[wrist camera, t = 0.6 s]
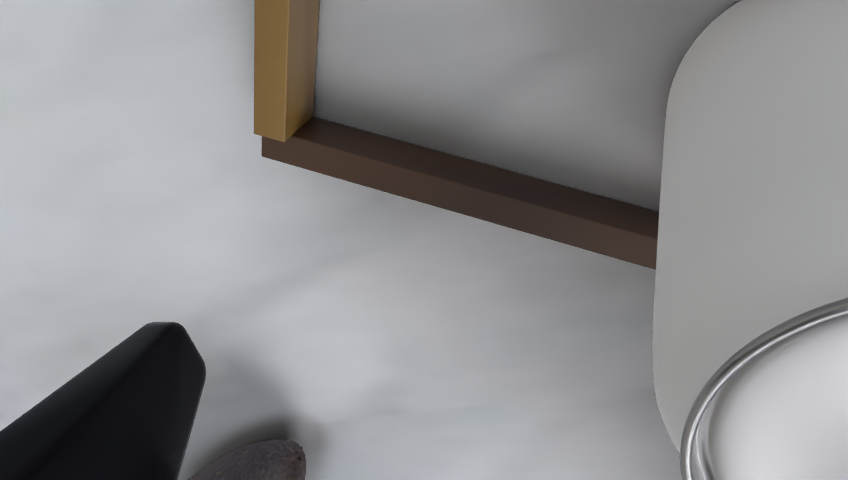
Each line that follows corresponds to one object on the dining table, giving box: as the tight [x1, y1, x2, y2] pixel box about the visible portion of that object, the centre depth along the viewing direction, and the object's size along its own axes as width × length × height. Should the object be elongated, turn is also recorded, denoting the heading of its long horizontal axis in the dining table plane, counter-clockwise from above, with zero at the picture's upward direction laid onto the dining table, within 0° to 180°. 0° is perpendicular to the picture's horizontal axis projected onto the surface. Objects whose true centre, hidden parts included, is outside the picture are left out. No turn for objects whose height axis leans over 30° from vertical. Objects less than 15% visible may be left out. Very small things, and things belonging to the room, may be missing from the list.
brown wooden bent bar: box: [254, 0, 659, 270], centre depth 18 cm, size 17×10×2 cm, turn 80°
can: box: [652, 0, 848, 480], centre depth 13 cm, size 6×6×12 cm
